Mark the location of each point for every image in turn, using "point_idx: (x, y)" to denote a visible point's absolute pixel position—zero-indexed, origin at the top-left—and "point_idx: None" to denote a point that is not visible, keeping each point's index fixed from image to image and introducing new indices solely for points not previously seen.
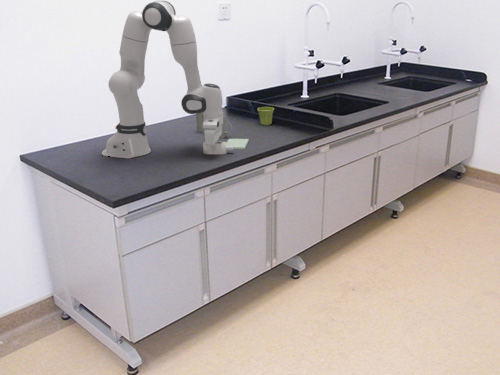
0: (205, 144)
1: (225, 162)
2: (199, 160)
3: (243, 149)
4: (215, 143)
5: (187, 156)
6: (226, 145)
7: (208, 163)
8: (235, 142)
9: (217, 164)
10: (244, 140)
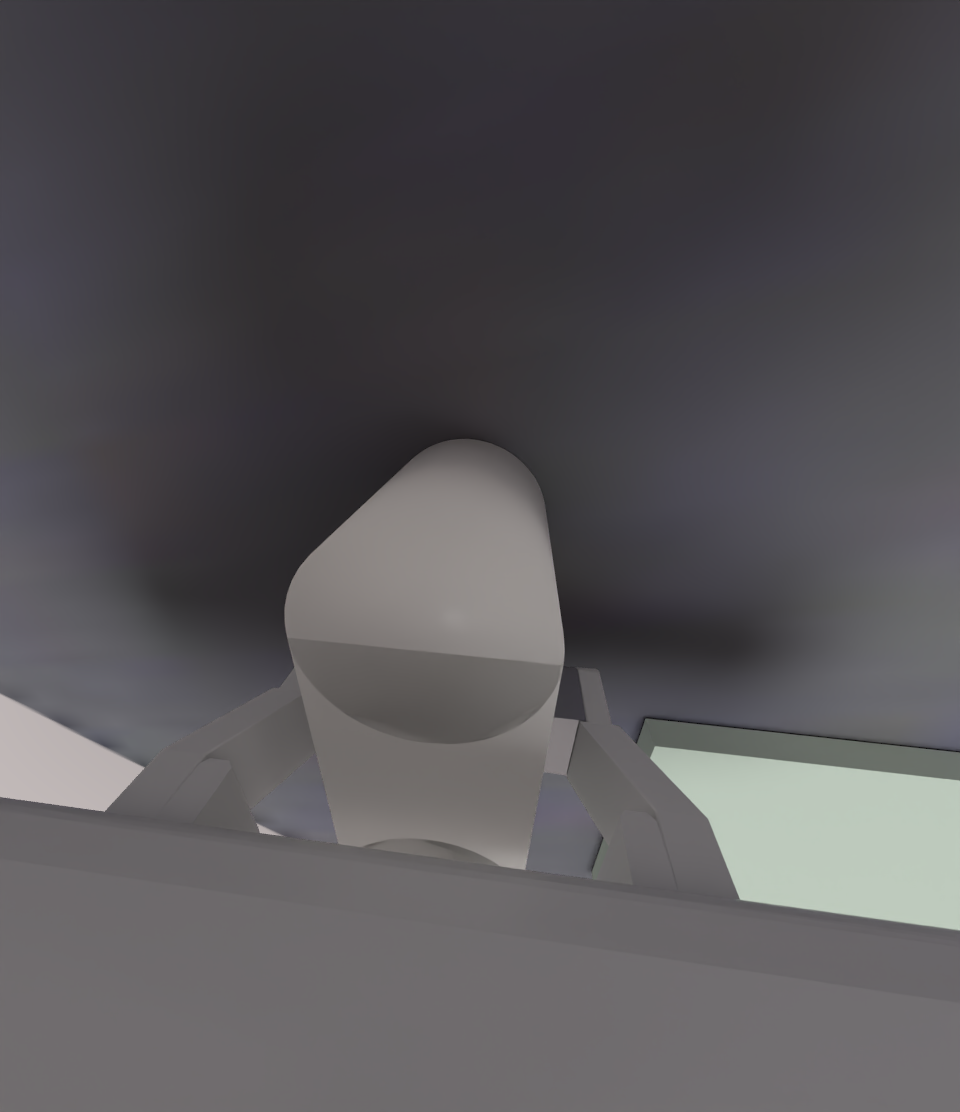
0: (297, 601)
1: (154, 738)
2: (51, 438)
3: (594, 867)
4: (366, 808)
5: (130, 39)
6: (735, 774)
7: (21, 585)
8: (858, 855)
9: (56, 677)
10: (909, 921)
